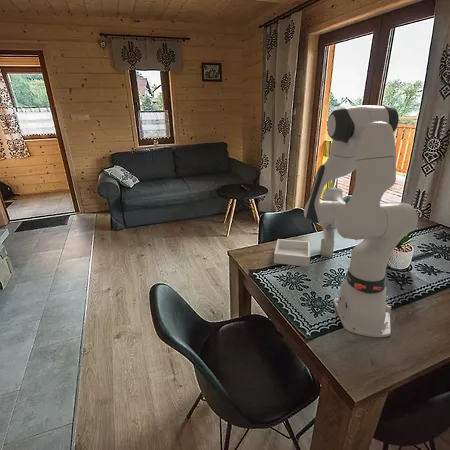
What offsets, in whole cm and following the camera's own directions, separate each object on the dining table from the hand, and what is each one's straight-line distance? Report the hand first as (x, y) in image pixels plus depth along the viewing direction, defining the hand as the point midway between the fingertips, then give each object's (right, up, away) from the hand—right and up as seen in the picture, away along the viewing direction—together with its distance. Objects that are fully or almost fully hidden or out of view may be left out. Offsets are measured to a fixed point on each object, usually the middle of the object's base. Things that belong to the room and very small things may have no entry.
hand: (326, 247), depth 139 cm
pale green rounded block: (0, -3, +1) cm, 4 cm away
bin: (-17, -4, 0) cm, 17 cm away
